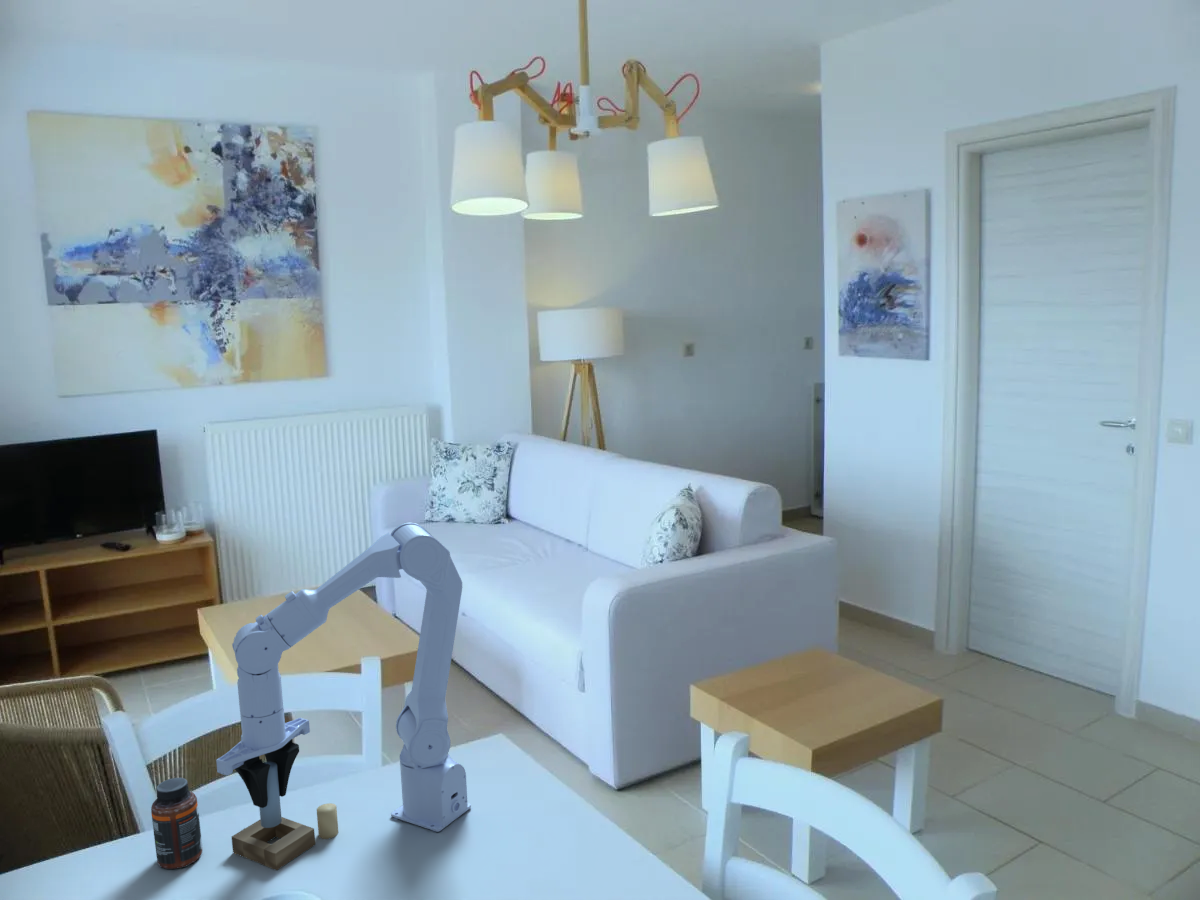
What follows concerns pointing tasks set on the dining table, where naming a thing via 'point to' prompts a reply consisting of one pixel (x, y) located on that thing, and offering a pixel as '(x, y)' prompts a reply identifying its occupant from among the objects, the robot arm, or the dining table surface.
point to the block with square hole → (280, 852)
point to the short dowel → (327, 821)
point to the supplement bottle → (176, 824)
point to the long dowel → (271, 800)
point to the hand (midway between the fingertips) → (269, 799)
